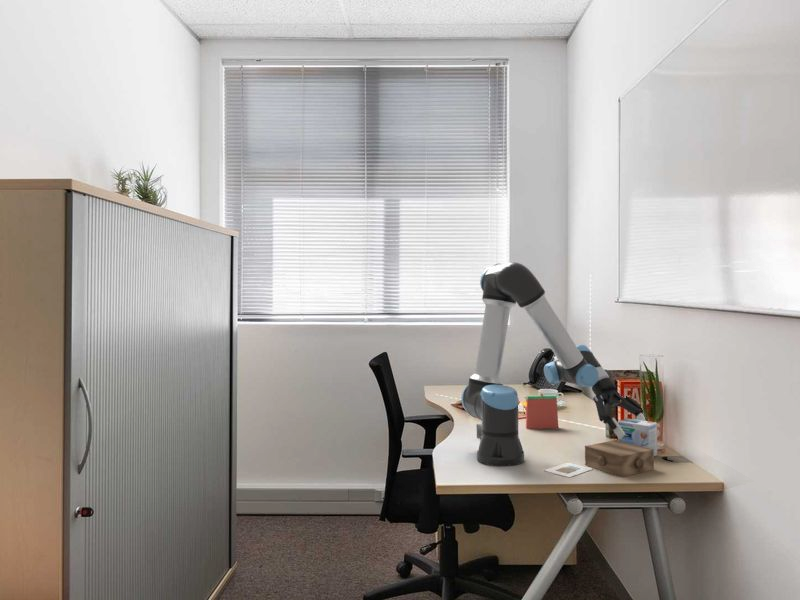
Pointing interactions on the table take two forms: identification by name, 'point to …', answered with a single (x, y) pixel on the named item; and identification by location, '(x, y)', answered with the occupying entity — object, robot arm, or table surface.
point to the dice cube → (479, 431)
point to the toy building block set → (541, 411)
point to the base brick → (619, 457)
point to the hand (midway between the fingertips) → (636, 434)
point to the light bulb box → (639, 433)
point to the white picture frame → (568, 470)
